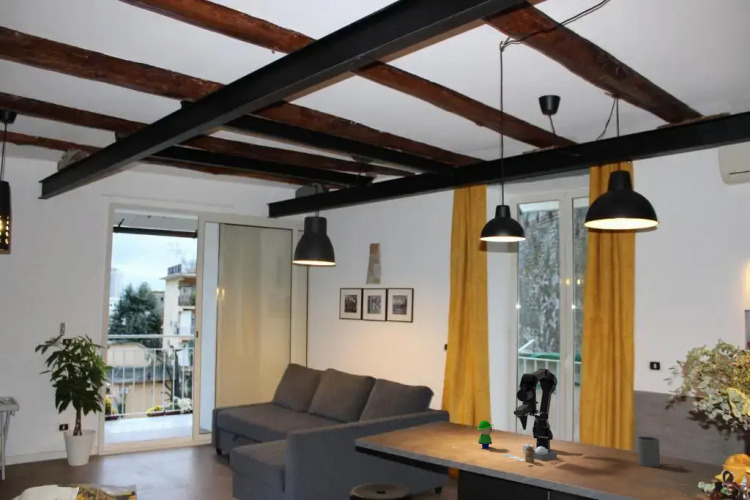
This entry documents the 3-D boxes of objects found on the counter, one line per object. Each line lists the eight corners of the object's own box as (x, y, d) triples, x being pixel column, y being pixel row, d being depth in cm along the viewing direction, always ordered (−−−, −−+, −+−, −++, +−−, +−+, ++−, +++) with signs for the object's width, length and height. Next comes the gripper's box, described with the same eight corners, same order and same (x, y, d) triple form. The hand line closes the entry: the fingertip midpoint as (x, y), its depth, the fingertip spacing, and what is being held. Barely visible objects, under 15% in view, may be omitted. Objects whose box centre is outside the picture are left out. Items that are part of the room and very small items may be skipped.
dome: (541, 456, 304) (541, 444, 305) (550, 458, 299) (550, 446, 300) (532, 457, 301) (532, 445, 302) (541, 459, 296) (541, 448, 297)
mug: (654, 468, 284) (652, 441, 286) (635, 464, 291) (633, 438, 293) (668, 463, 293) (667, 437, 294) (649, 460, 300) (648, 434, 301)
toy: (493, 452, 317) (493, 422, 319) (476, 451, 319) (476, 421, 321) (494, 448, 326) (493, 419, 328) (477, 447, 328) (476, 418, 329)
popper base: (541, 454, 307) (541, 448, 308) (556, 458, 299) (556, 452, 299) (526, 457, 302) (526, 450, 302) (541, 461, 294) (541, 454, 294)
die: (527, 452, 313) (527, 443, 313) (534, 453, 310) (534, 445, 310) (523, 453, 310) (523, 445, 310) (530, 454, 307) (530, 446, 307)
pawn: (529, 460, 294) (529, 445, 295) (536, 462, 290) (535, 446, 291) (523, 461, 292) (523, 445, 293) (529, 462, 288) (529, 447, 289)
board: (527, 452, 316) (527, 450, 316) (560, 461, 297) (560, 458, 297) (497, 457, 306) (497, 454, 306) (529, 466, 287) (529, 463, 287)
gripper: (505, 398, 315) (505, 430, 313) (532, 402, 299) (532, 436, 297) (521, 396, 320) (522, 428, 319) (548, 401, 304) (549, 434, 303)
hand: (531, 431), depth 309 cm, fingers open, 9 cm apart
